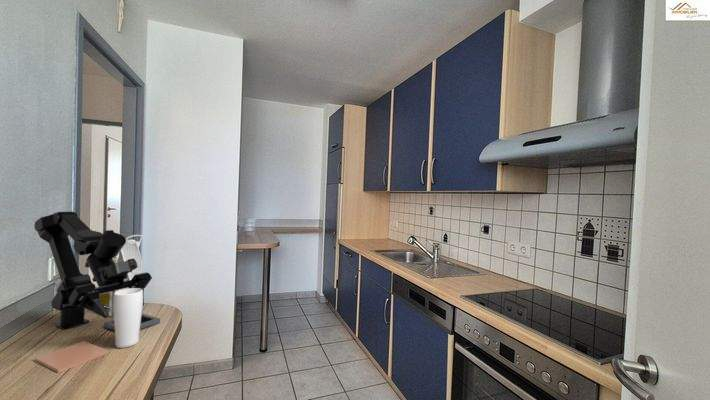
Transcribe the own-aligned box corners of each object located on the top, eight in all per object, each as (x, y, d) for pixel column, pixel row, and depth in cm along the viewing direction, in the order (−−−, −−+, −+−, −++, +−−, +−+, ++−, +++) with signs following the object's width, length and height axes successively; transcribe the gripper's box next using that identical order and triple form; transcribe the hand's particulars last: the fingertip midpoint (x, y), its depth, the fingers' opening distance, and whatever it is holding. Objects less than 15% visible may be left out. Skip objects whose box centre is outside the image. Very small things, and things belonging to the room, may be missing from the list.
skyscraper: (132, 308, 111) (134, 233, 111) (147, 311, 108) (148, 235, 108) (107, 316, 103) (108, 236, 103) (122, 320, 100) (123, 237, 100)
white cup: (125, 351, 80) (127, 296, 80) (105, 348, 81) (106, 294, 81) (147, 340, 86) (149, 288, 86) (128, 337, 88) (130, 287, 88)
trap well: (104, 327, 94) (104, 322, 94) (138, 316, 103) (138, 312, 103) (126, 335, 89) (126, 330, 89) (159, 323, 98) (160, 318, 98)
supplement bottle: (98, 308, 110) (98, 282, 110) (116, 305, 113) (116, 280, 113) (94, 313, 106) (94, 286, 106) (113, 310, 108) (114, 284, 109)
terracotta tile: (34, 360, 75) (35, 357, 75) (84, 343, 84) (84, 341, 84) (58, 372, 70) (58, 369, 70) (108, 353, 79) (108, 350, 79)
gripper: (74, 256, 78) (97, 304, 73) (148, 247, 95) (170, 285, 90) (59, 282, 81) (80, 330, 76) (133, 269, 98) (154, 307, 94)
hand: (125, 311), depth 84 cm, fingers open, 9 cm apart
